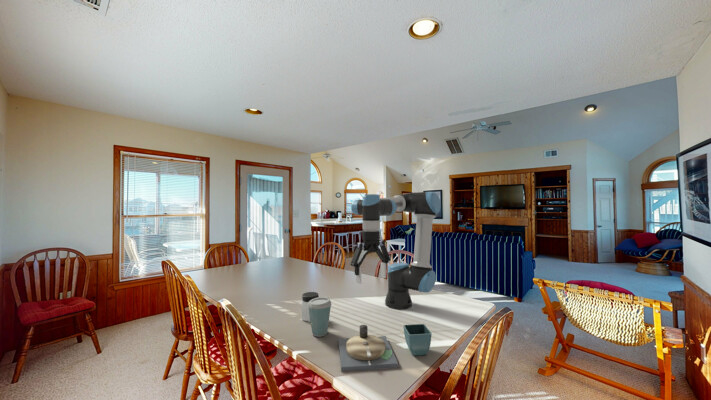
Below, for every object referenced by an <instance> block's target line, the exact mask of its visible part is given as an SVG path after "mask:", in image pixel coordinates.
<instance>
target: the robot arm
mask: <svg viewBox="0 0 711 400" xmlns="http://www.w3.org/2000/svg"><path fill="white" fill-rule="evenodd" d="M441 204H442V203H441V199H440V197H439V194H437V193H436V192H434V191H433V192H432V191H421V192H419V191H418V192H407V193H401V194H396V195H394V196H391V197H381V195H380V194H377V193H376V194H374V193H373V194H363V196H362V199H355V200H353V201H352V203H351V206H350V208H351V209H350V210H351V212H352V214H354V215H356V216H362V232H361V233H362V234H361V235H362V237H361V238H362V242H357V243H356V248H355V251H354V254H353V256H352V259H351V261H350V263H349V264H350V266H352V267H353V268H354V276H355V283H356V284H359V285H360V284H362V267H361V266H362V263H363V262H364V260H365V258H367V255H368V254H369V253H370V254H372V253H376V254H377V256H378V257H379V259H380V261H381V262H380V278H382V279H387V293H386V296H385V301H384V305H385V306H386V307H388V308H390V309H395V310H406V309H409V308H412V306H413V301H412V297H411V294H410V290H412V291H417V292H419V293H430V292H431V291H432V290H433V289H434V287H435V284H436V279H437V275H436V272H435V271H434V270H433V266H432V265H431V263H430V262H431V261H430V260H431V248H432V234H433V222H434V221H433V220H434V219H435V218H437V214H439V213H440V212H441V211H440V210H441V207H442V205H441ZM396 212H398V213H399V212H405V213H413V214H414V215H413V216H414V217H415V218H416V225H415V238H414V249H413V250H414V251H413V259H412V260H413V262H411V263H410V265H409V263H407V262H399V263H398V262H397V263H391V264H389V265H388V263H390V262H391V260H392V259H391V256H390V254H389V252H388V249H387V246H386V241H385V240H383V239H382V240H381V231H380V230H381V217H384V216H385V217H386V216H393V215H395V214H396Z"/></svg>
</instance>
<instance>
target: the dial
mask: <svg viewBox="0 0 711 400" xmlns="http://www.w3.org/2000/svg"><path fill="white" fill-rule="evenodd" d="M368 329H369V328H368V325H366V324H361V325H359V335H354V336H352V337H349V338H350V339H349V340H348V341H347V343H346V351H347V353H348V355H350V356H351V357H353V358H355V359H359V360H374V359H377V358H380V357H381V356H383V355H384V353H385V342H384V341H383V340H382V339H381V338H379V336H376V335H371V334H369V333H368Z"/></svg>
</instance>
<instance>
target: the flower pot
mask: <svg viewBox="0 0 711 400" xmlns="http://www.w3.org/2000/svg"><path fill="white" fill-rule="evenodd" d="M403 335H404V339H405V343H406V345H407V348H408V349H409V351H410V353H411V355H412V356H425V355H427V353H428V352H429V351H430V348H431V344H432V343H431V341H432V335H433V334H432V331H430V329H429V328H428V326H426V324H424V323H418V324H417V323H416V324H403Z"/></svg>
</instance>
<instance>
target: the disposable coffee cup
mask: <svg viewBox="0 0 711 400" xmlns="http://www.w3.org/2000/svg"><path fill="white" fill-rule="evenodd" d="M331 307H332V301H331V298H329V296H319V297H318V298H314V299H312V300H310V301H309V302H308V308H309V314H310V321H311V322H310V327H311V332H312V335H313V336H314V337H318V338H319V337H325V336H327V335H328V331H329V322H330V314H331Z"/></svg>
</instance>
